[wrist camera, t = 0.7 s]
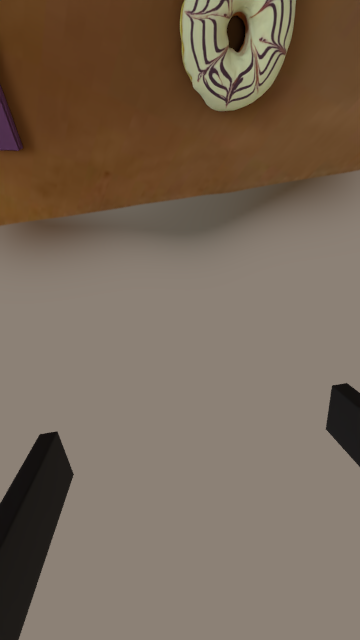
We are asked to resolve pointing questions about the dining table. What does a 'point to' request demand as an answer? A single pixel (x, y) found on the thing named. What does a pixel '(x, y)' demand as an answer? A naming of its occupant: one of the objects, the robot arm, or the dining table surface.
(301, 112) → the dining table surface
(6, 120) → the plum cloth
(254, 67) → the decorated donut
